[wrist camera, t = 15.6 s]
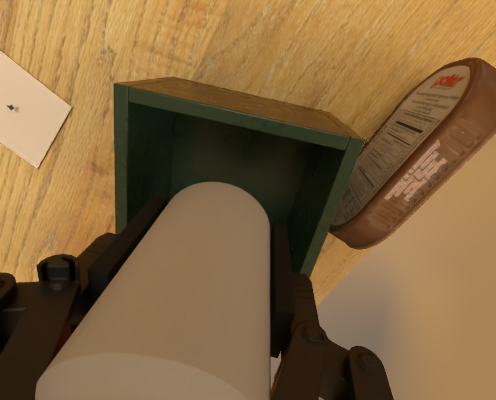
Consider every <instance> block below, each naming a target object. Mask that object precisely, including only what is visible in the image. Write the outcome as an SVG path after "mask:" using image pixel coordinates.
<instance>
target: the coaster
mask: <svg viewBox="0 0 496 400" xmlns="http://www.w3.org/2000/svg"><path fill="white" fill-rule="evenodd" d="M71 108H72V107H71V106H69V105H68V104H67V103H66V102H64V101H63V100H62V99H61V98H59V97H58V96H57V95H56V94H54V93H53V92H52V91H51V90H49V89H48V88H47V87H45V86H44V85H43V84H42V83H40V82H39V81H38V80H37V79H35V78H34V77H33V76H32V75H30V74H29V73H28V72H27V71H25V70H24V69H23V68H22V67H20V66H19V65H18V64H16V63H15V62H14V61H13V60H11V59H10V58H9V57H8V56H6V55H5V54H4V53H3V52H1V51H0V143H2V144H3V145H4V146H6V147H7V148H9V149H10V150H11V151H13V152H14V153H16V154H17V155H18V156H20V157H21V158H23V159H24V160H26V161H27V162H28V163H30V164H31V165H33V166H34V167H35V168H38V167H39V165H40V163H41V161H42V159H43V158H44V156H45V154H46V152H47V151H48V149H49V147H50V145H51V143H52V142H53V140H54V138H55V136H56V135H57V133H58V131H59V129H60V127H61V126H62V124H63V122H64V120H65V118H66V117H67V115H68V113H69V111H70V110H71Z"/></svg>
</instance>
